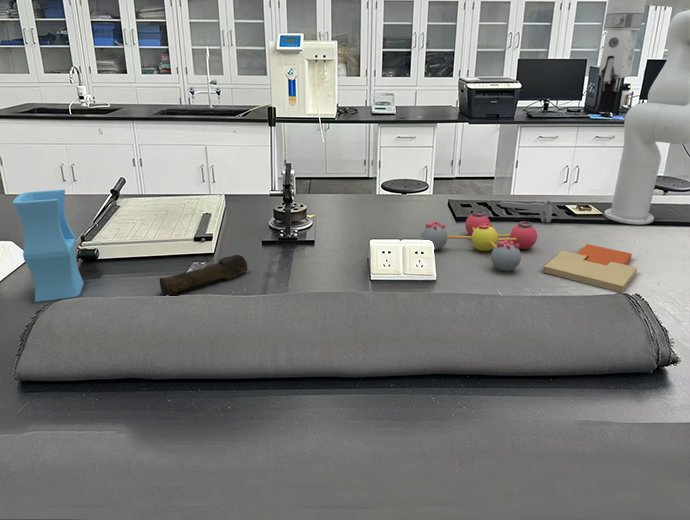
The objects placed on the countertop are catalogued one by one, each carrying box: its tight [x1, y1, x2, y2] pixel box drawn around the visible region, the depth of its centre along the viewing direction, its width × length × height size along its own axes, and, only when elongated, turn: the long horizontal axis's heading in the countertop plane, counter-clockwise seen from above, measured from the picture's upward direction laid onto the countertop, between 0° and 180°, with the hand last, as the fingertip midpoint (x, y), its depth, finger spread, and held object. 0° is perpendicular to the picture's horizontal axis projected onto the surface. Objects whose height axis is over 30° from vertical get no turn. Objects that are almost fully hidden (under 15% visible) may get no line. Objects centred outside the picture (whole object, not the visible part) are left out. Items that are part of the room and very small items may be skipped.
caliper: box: [497, 199, 553, 223], centre depth 154 cm, size 20×1×6 cm, turn 27°
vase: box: [12, 189, 84, 303], centre depth 104 cm, size 8×8×20 cm
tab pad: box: [576, 243, 633, 266], centre depth 122 cm, size 11×10×2 cm
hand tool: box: [159, 254, 248, 297], centre depth 110 cm, size 19×4×5 cm, turn 127°
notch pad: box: [543, 250, 638, 293], centre depth 116 cm, size 12×16×2 cm
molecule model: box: [420, 210, 538, 272], centre depth 127 cm, size 25×21×6 cm
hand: (607, 108), depth 125 cm, fingers closed
